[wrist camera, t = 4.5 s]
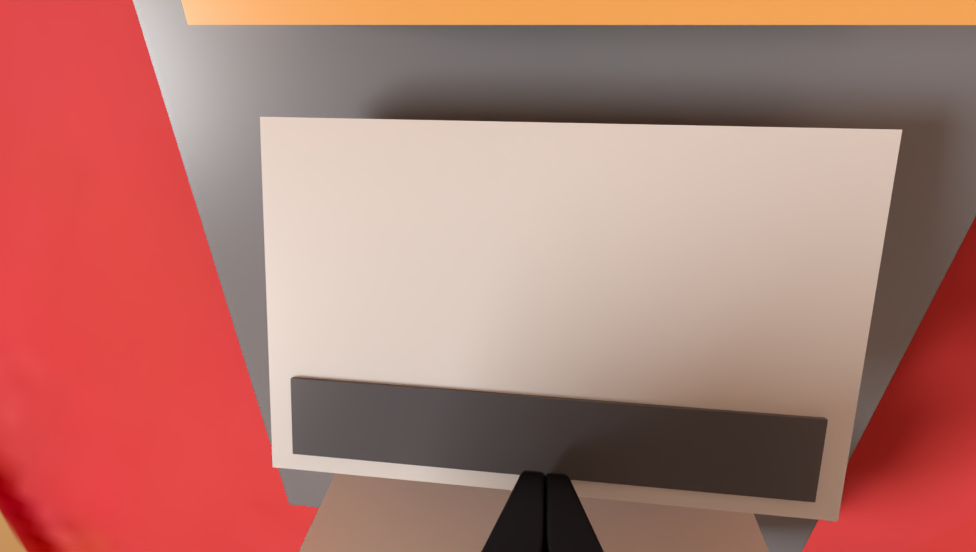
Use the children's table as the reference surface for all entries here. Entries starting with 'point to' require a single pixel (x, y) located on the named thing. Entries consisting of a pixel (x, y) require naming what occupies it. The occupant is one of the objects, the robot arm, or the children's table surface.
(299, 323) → the cream plate with stripe
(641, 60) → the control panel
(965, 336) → the children's table surface
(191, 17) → the orange key
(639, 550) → the cream key
